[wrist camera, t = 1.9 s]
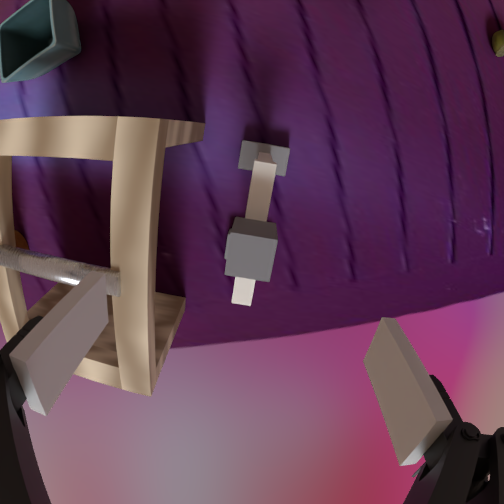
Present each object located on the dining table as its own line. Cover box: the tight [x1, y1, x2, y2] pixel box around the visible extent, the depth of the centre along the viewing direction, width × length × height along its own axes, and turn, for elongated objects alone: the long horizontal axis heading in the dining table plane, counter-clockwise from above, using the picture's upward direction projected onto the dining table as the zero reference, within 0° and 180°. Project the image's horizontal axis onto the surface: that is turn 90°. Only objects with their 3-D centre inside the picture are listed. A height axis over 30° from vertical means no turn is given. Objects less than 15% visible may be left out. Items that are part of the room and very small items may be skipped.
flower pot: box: [0, 0, 81, 83], centre depth 24 cm, size 9×9×9 cm
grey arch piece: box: [224, 140, 290, 306], centre depth 28 cm, size 5×13×16 cm, turn 171°
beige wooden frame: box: [0, 116, 205, 396], centre depth 29 cm, size 18×24×17 cm
